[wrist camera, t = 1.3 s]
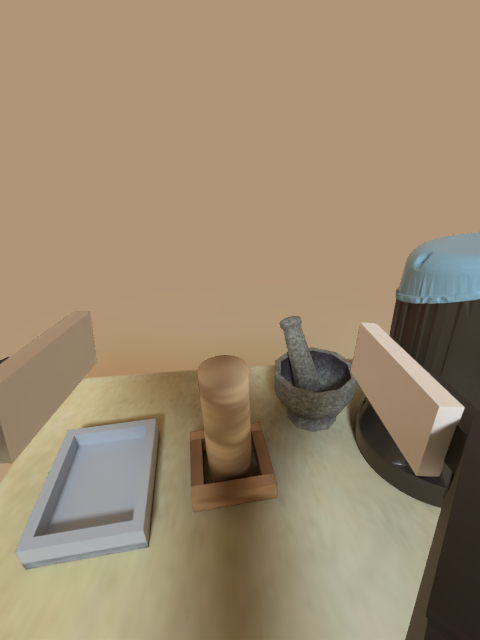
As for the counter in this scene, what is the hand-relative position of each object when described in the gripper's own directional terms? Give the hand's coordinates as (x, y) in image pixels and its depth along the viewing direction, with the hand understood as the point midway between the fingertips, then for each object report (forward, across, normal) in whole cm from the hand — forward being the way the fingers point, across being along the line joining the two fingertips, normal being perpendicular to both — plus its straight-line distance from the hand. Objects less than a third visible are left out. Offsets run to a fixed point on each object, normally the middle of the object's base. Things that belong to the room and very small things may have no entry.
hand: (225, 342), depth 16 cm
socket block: (+12, +1, -21) cm, 24 cm away
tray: (+10, -12, -22) cm, 27 cm away
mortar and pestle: (+20, +10, -19) cm, 30 cm away
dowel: (+12, +1, -21) cm, 24 cm away
